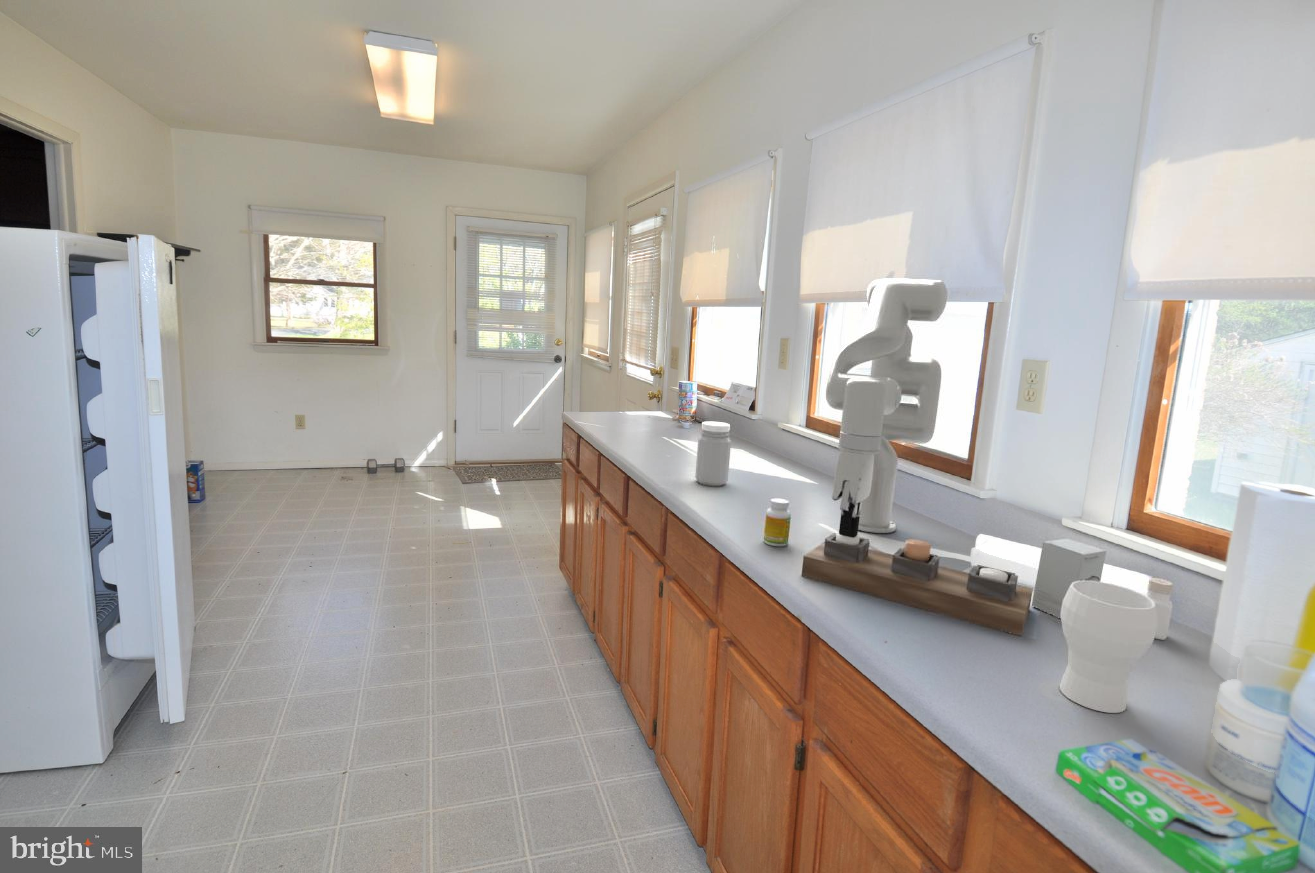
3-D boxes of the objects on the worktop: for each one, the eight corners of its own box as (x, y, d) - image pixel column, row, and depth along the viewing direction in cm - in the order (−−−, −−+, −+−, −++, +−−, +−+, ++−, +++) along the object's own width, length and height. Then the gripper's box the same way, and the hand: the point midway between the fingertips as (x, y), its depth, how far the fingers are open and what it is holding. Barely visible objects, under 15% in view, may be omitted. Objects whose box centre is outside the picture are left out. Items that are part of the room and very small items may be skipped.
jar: (693, 484, 198) (697, 424, 195) (696, 477, 207) (701, 419, 204) (726, 488, 196) (731, 427, 193) (728, 480, 206) (733, 422, 203)
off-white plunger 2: (979, 581, 121) (982, 566, 121) (1006, 588, 119) (1009, 572, 118) (975, 589, 117) (978, 572, 117) (1003, 596, 115) (1006, 579, 115)
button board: (826, 557, 142) (829, 525, 141) (1029, 609, 121) (1035, 572, 120) (801, 575, 130) (805, 541, 129) (1021, 636, 110) (1028, 595, 109)
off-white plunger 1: (839, 544, 135) (840, 530, 134) (860, 549, 133) (862, 535, 132) (831, 549, 131) (833, 534, 131) (853, 555, 129) (855, 540, 128)
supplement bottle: (787, 548, 146) (792, 505, 144) (762, 545, 147) (767, 502, 145) (788, 540, 151) (792, 499, 149) (763, 537, 152) (768, 496, 150)
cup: (1124, 687, 95) (1144, 587, 93) (1151, 728, 85) (1174, 617, 83) (1040, 670, 99) (1057, 573, 96) (1057, 707, 89) (1076, 600, 86)
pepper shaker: (1166, 642, 112) (1177, 587, 110) (1136, 634, 114) (1147, 581, 112) (1163, 633, 115) (1174, 580, 113) (1135, 626, 117) (1145, 574, 115)
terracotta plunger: (906, 552, 128) (908, 537, 127) (931, 558, 125) (933, 543, 125) (900, 558, 124) (903, 543, 124) (925, 564, 122) (928, 549, 121)
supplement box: (1070, 623, 116) (1083, 554, 114) (1029, 606, 123) (1041, 540, 121) (1095, 617, 120) (1108, 550, 118) (1054, 601, 126) (1066, 536, 124)
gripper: (852, 436, 136) (841, 523, 139) (827, 444, 124) (815, 539, 127) (889, 442, 132) (877, 531, 135) (867, 450, 120) (855, 548, 123)
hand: (847, 535), depth 131 cm, fingers closed
